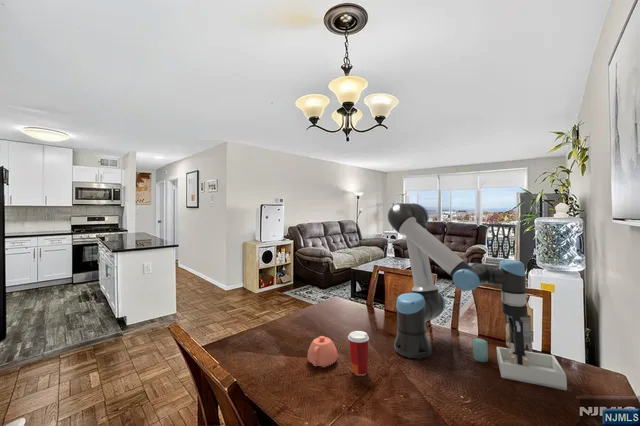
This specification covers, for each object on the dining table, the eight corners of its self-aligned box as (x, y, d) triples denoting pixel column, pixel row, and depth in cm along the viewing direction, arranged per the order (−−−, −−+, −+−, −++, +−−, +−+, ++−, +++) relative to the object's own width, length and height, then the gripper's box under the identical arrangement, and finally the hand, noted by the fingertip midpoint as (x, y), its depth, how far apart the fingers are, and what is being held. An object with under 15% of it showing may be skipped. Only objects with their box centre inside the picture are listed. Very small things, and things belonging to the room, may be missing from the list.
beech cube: (529, 374, 95) (528, 360, 95) (511, 371, 97) (511, 357, 97) (526, 367, 99) (525, 353, 100) (509, 364, 102) (508, 351, 102)
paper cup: (371, 368, 104) (370, 331, 104) (368, 379, 97) (366, 339, 97) (351, 365, 107) (350, 329, 107) (347, 376, 99) (345, 337, 100)
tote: (501, 377, 95) (500, 363, 95) (497, 359, 107) (496, 346, 107) (567, 390, 87) (566, 374, 87) (554, 369, 99) (553, 355, 99)
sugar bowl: (342, 358, 113) (341, 333, 113) (329, 375, 100) (328, 347, 101) (315, 353, 118) (315, 329, 118) (300, 369, 105) (299, 342, 106)
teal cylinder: (473, 360, 107) (472, 342, 107) (473, 354, 112) (472, 337, 112) (488, 363, 105) (487, 344, 105) (487, 357, 109) (486, 339, 110)
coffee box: (505, 345, 119) (503, 308, 119) (521, 346, 118) (519, 308, 118) (516, 355, 110) (513, 315, 110) (534, 356, 109) (531, 315, 109)
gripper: (533, 313, 89) (537, 384, 88) (521, 297, 107) (525, 356, 106) (505, 310, 92) (509, 379, 91) (498, 295, 110) (502, 352, 109)
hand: (518, 366), depth 98 cm, fingers open, 7 cm apart
